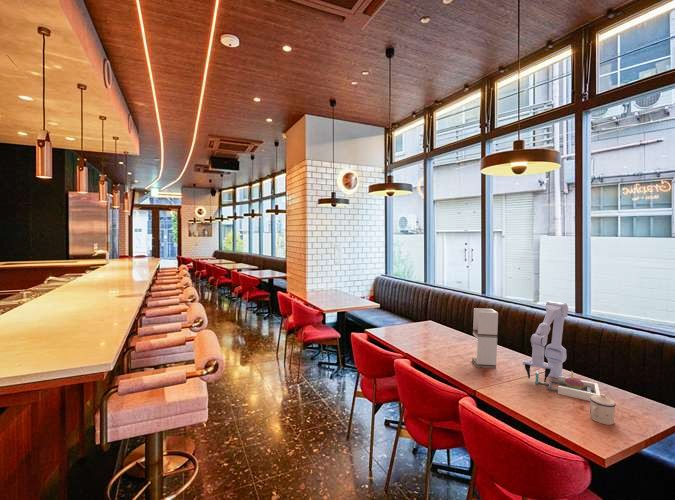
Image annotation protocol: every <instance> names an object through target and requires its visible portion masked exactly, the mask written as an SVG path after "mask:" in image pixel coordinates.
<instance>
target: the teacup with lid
mask: <svg viewBox="0 0 675 500" xmlns="http://www.w3.org/2000/svg"><path fill="white" fill-rule="evenodd" d="M590 400H591V401H590V404H589V408H590V409H589V417H590V419H591V420H592V421H595V422H596V423H599V424H602V425H609V426H611V425H613V424H614V423H615V415H616V414H615V413H616V406H617V404H616V402H615V401H614V400H613V399H611V398H609V397H608V396H607V395H606V394H604V393H600V395H598V396H597V395H594V396H591V398H590Z"/></svg>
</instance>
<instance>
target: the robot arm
mask: <svg viewBox="0 0 675 500" xmlns="http://www.w3.org/2000/svg"><path fill="white" fill-rule="evenodd" d="M545 311H546V312H545V315H544V319H543V321H542V322H541V323H539V325H538V327H537V329H536V331H535V333H533V334H532V335H531V337H530V343H531V345H530V346H531V347H532V352H531V353H532V354H531V361H530V360H525V359H523V360H522V365H523V366H524V368H525V371H526V374H527V379H529V380H530V378H531V367H534V368H535V367H536V368H538V369H539V368H540V369H544V379H543V381H544V382H543V383H547V378H548V377H552V378H556V379H558V378H559V376H563V377H564V375H563V363H564V362H566V360H567V355H568V354H567V349H566V348H565V347H564V346H563V345H562V341H563V332H564V324H565V318H567V317H568V313H569V306H568V304H567V303H566V302H565V303H563V302H558V301H551V300H548V301H547V302H546V303H545ZM552 323H553V326H552V328H551V324H552ZM551 329H552V335H551V343H549V344H547V343H548V335H549V333H550V331H551ZM545 358H546V360H547V364H546V363H545Z"/></svg>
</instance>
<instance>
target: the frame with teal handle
mask: <svg viewBox="0 0 675 500" xmlns="http://www.w3.org/2000/svg"><path fill="white" fill-rule="evenodd" d="M539 373H540V372H539V371H538V370H536V371H535V385H539V384H540V385H543V386H548V391H551V392H557V393H558V388H554V387H553V388H552V384H558V385H560V386H564V387H567V385H566V384H565V383H563V382H558V381H557V380H552V379H549V380H548V383H547V382H543V381H539ZM581 390H583V391H586V392H590V393H592V390H591V389H590V386H587V388H586V387H584V388H582V389H581Z"/></svg>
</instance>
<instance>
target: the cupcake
mask: <svg viewBox="0 0 675 500" xmlns="http://www.w3.org/2000/svg"><path fill="white" fill-rule="evenodd" d="M570 375H571V377H568V378H566V379H565V384H566V385H567V386H566V387H567V388H572V389H576V390H581V391H582V390H583V389H582V388H584V383H583V382H582V381H583V380H582V381H580V380H581V379H579V378H577V377H574V372H573V370H571V372H570Z"/></svg>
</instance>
